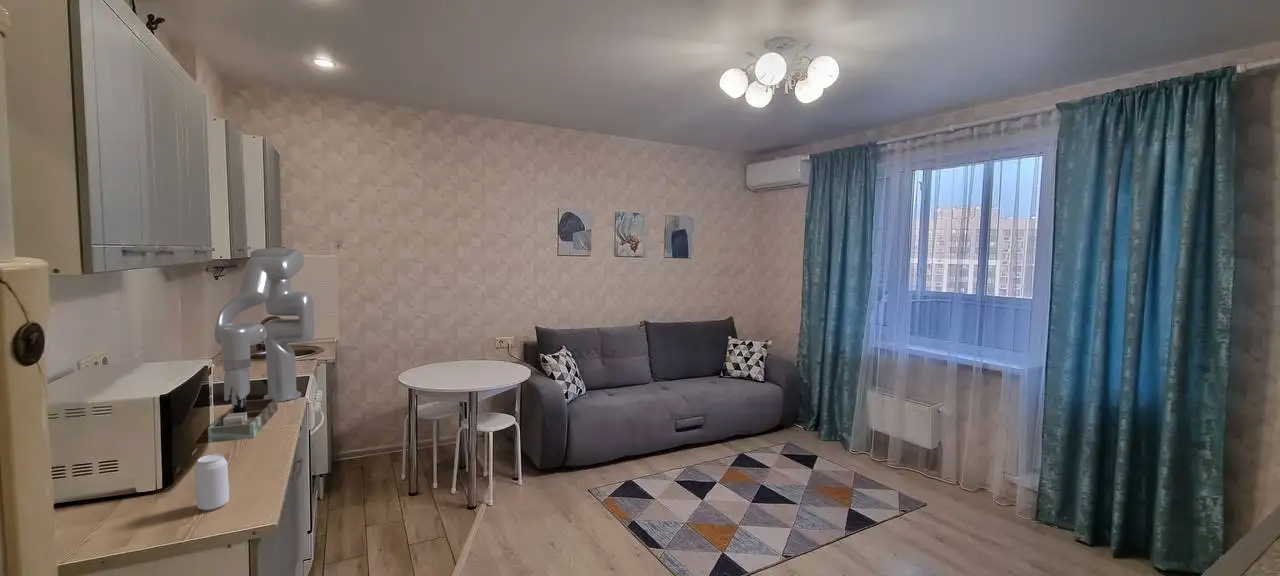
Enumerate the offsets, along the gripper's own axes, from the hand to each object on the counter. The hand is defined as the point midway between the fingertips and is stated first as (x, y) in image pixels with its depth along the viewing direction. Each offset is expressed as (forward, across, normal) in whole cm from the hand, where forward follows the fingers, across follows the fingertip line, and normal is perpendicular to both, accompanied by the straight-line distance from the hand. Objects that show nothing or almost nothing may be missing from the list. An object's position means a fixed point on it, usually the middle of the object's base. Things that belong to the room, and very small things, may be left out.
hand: (240, 418), depth 182 cm
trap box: (+4, -6, 0) cm, 7 cm away
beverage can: (+4, +58, +10) cm, 59 cm away
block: (+2, +4, 0) cm, 5 cm away
